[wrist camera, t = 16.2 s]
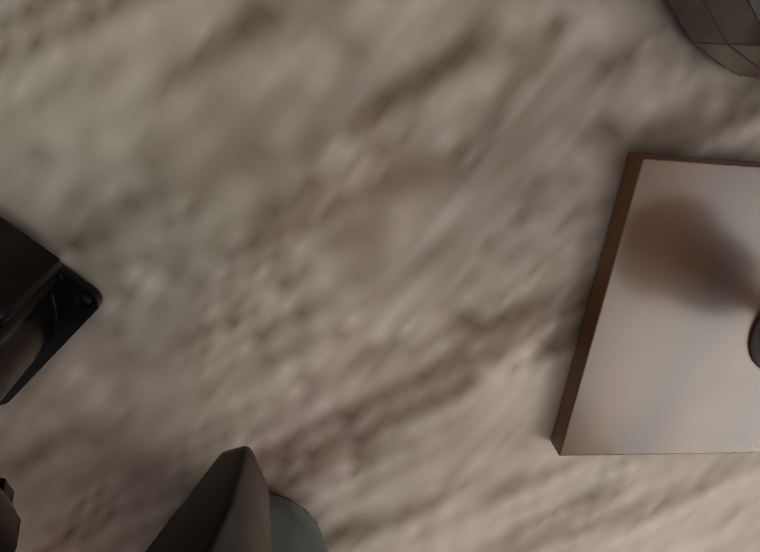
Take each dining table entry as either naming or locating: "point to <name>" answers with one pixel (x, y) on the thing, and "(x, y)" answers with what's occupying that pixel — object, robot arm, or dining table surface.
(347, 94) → the dining table surface
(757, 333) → the sundae
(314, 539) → the bottle
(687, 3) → the skillet
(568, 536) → the dining table surface
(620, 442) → the walnut board
